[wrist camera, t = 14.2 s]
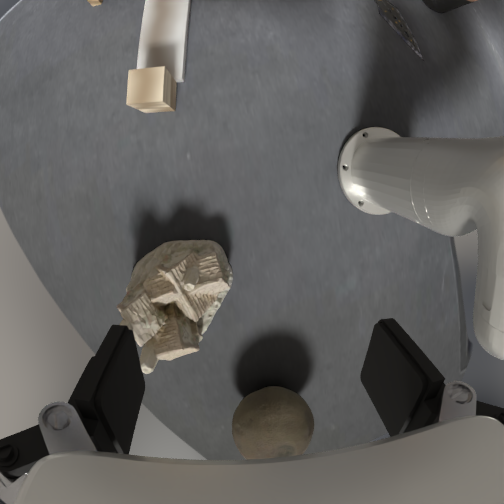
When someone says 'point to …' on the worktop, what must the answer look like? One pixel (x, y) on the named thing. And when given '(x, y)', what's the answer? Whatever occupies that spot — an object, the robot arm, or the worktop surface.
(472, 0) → the travel mug
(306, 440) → the cantaloupe
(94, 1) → the oak bench
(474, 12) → the worktop surface
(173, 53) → the tan piece
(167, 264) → the ceramic cottage
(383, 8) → the throwing knife
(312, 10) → the worktop surface
